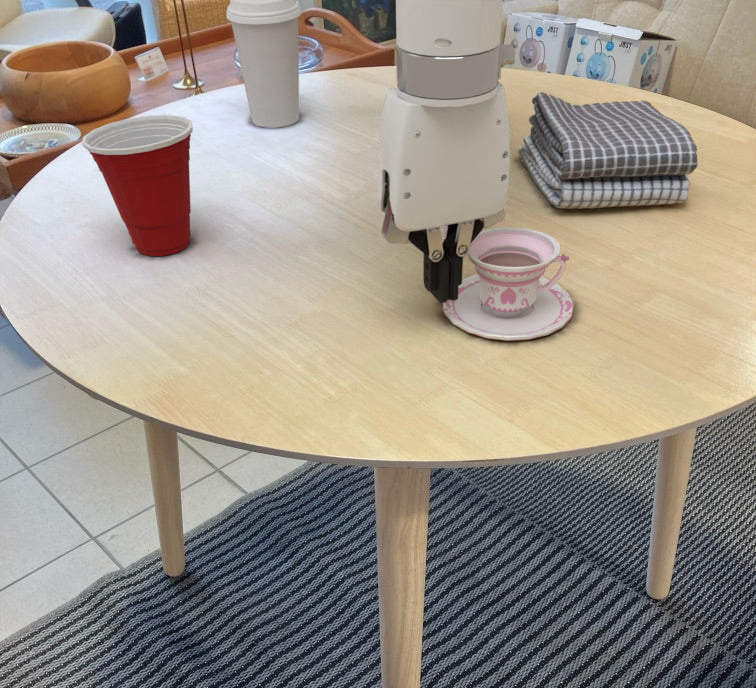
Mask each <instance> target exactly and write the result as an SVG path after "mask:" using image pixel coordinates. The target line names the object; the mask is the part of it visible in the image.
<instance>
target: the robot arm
mask: <svg viewBox="0 0 756 688" xmlns="http://www.w3.org/2000/svg"><path fill="white" fill-rule="evenodd" d="M503 6H504V0H395V25H396V26H395V36H396V38H395V39H396V41H395V42H396V87H393V88H389V89H388V90H387V91H386V92H385V97H384V103H383V109H382V115H381V122H380V131H379V140H378V153H377V176H376V182H377V183H376V184H377V185H376V198H377V204H378V207H379V210H380V211H381V212H383V213H384V216H383V217H384V218H383V222H382V227H381V231H380V232H381V236H382V238H384V240H385V241H386V242H387V243H388V244H397V245H413V246H414V247H415V248H417V249H418V250H419V251H420V252H421V253H423V272H422V273H423V275H422V277H423V285H424V288H425V290H426V291H427V292H430V294H431V295H432V296H433V297H434V298H435V300H436V301H437V302H438V303H439V304H443V303H445V302H447V300H448V299H449V300H451V301H454V300H457V299H458V286H459V285H461V284H462V280H463V264H464V257H465V256H467V253H468V252H469V248H470V244H471V243H472V242H473V240H474V239H475V238H476V237H477V236H478V234H479V233H480V232H481V231H483V230H487V229H489V228H490V227H492V226H495V225H496V224H498V223H501V222H503V221H504V219H505V217H506V211H505V207H506V205H507V203H508V198H509V193H510V192H509V191H510V182H511V181H510V180H511V132H510V119H509V118H510V117H509V110H508V103H507V101H508V100H507V95H506V89H505V86H504V85H503V83H501V82H500V80H501V74H502V68H504V67H505V66H506V65H507V66H508V65H512V64H513V63H514V62H515V59H516V51H515V47H514V45H513V44H511V43H509V44H504V43H503V41H502V39H501V38H502V24H503V23H502V21H503ZM444 226H445V227H444ZM441 227H444V231H443V236H442V228H441ZM442 237H443V238H442Z"/></svg>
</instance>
